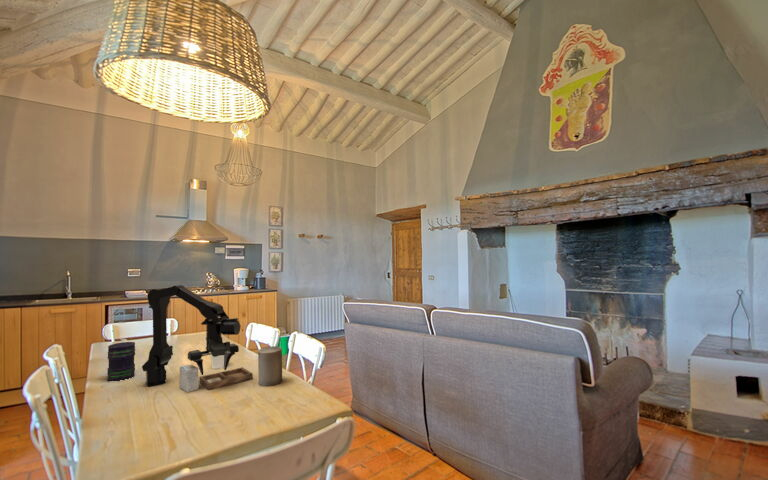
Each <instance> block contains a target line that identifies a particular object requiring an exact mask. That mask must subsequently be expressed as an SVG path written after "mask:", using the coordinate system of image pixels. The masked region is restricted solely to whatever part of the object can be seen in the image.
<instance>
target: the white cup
mask: <svg viewBox="0 0 768 480" xmlns="http://www.w3.org/2000/svg"><path fill="white" fill-rule="evenodd" d="M210 362H211V369H213V370H220V369H224V355H220V356H217V357H213V356H212V354H211V355H210Z"/></svg>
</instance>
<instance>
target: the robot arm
mask: <svg viewBox="0 0 768 480" xmlns="http://www.w3.org/2000/svg"><path fill="white" fill-rule="evenodd" d="M175 296H176V297H178V298H179V299H181V300H182V301H184V302H186V303H187V304H189V305H191V306H192V307H194V308H195V309H197V310H198V311H199V312H200V315H202V317H204V320H203V321H202V322H201V323H200V325H202V326H203V325H205V326H206V330H205V331H206V334H205V336H206V337H205V341H206V345H205V350H203V351H201V350H200V349H195V350H190V351H188V352H187V359H188V360H189V361H190V362H194V363H196V365H197V368H198V371H199V373H200V374H201V376H204V366H203V361H204V359H202V357H204V356H205V357H206V356H211V354H212V356H213V357H217V356H220V355H224V368H223V369H224V371H227V368H228V366H229V363H230V361H231V358H232V357H233V356H234V355H236V353H239V351H240V347H239V345H237V344H235V343H230V341H225V342H224V340H223V337H222V335H223V336H233V335H234V336H237V335H239V334H240V332H241V327H242V326H241V324H240V321H239V318H238V317H234V318H230V317H229V316H228V315H227V313H226V311H225V310H224V307H223V305H222V304H220V303H217V302H215V301H211V300H210V301H209V300H207V299H205V298H204V297H201V296H200V295H199V294H196V293H195V292H193V291H191V290H190V289H188V288H187V287H185V286H184V285H182V284H178V285H172V286H170V287H160V288H153V289H150V290H149V292H148V293H147V296H146V297H147V303H148V306H149V307H150V309H151V310H152V346H151V348H150V350H149V352H148V359H147V360H146V361H145V362H144V364H143V365H142V366H141V368H142V372H146V373H145V376H146V378H145V382H144V383H145V385H146V386H147V387H151V386H156V385H162V384H165V383H167V382H166V380H167V370H166V366H168V365H169V362H170V360H171V359H172V357H173V355H174V353H173V348H174V347H173V345H170V344H169V343H168V341H167V339H168V338H167V337H168V335H167V330H168V329H167V308H168V306H169V304H170V302H171V297H175Z"/></svg>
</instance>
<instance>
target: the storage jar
mask: <svg viewBox="0 0 768 480" xmlns="http://www.w3.org/2000/svg"><path fill="white" fill-rule="evenodd" d="M135 345H136V342H134V341H125V342H123V341H121V342H117V343H113V344H110V345H107V347H108V350H107V360H108V367H107V382H110V381H117V382H121V381H120V380H123V381H126V380H125V379H127V380H130V379H132V377H133V378H135V371H136V364H135V355H136V346H135ZM129 378H130V379H129Z"/></svg>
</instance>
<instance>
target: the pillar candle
mask: <svg viewBox="0 0 768 480" xmlns="http://www.w3.org/2000/svg"><path fill="white" fill-rule="evenodd" d="M257 355H258V357H257V358H258V362H257V364H258V365H257V366H258V370H257V371H258V372H257V374H258V376H257V377H258V385H260V386H262V387H270V386H271V387H272V386H276V385H278V384H281V383H282V382H283V348H282V347H281V346H272V345H271V346H266V347H261V348H259V349H258V350H257Z"/></svg>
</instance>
